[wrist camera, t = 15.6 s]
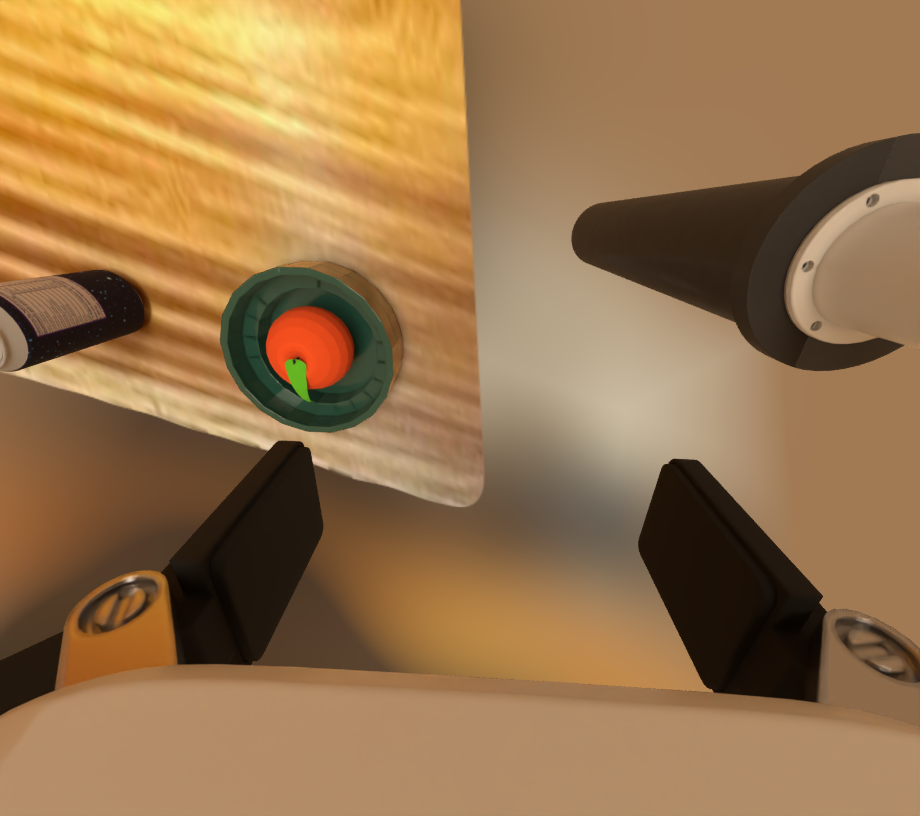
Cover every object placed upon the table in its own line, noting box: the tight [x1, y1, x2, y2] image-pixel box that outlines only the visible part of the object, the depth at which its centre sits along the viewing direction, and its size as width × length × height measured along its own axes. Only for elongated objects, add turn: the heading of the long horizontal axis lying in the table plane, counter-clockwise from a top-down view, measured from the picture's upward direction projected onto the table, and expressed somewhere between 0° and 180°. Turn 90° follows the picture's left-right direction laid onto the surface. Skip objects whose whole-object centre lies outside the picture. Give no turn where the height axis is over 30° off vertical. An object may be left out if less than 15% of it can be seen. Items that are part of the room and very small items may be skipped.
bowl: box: [220, 261, 403, 433], centre depth 34 cm, size 14×14×5 cm
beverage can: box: [0, 270, 144, 372], centre depth 30 cm, size 6×6×12 cm
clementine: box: [266, 306, 354, 402], centre depth 32 cm, size 8×7×7 cm
